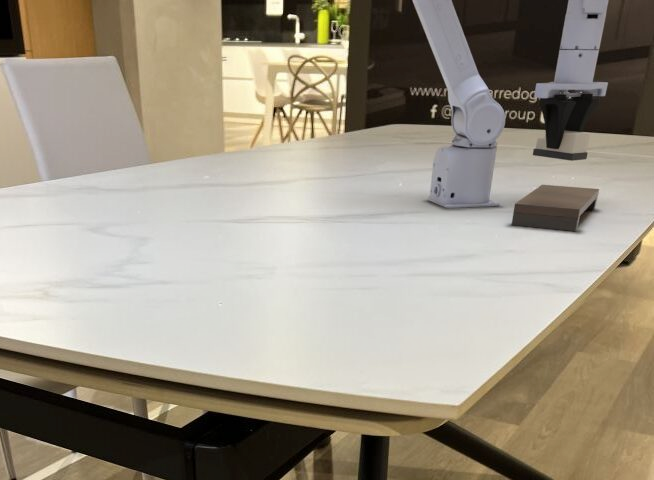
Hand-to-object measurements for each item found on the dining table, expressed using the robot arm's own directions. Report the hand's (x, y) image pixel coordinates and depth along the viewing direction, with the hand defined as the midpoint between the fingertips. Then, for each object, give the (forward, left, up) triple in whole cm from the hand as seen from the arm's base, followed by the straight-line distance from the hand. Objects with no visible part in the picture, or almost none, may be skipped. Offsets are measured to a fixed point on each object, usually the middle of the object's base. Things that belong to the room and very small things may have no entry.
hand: (560, 147), depth 120 cm
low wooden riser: (-6, -11, -8) cm, 15 cm away
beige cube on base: (0, 0, -1) cm, 1 cm away
